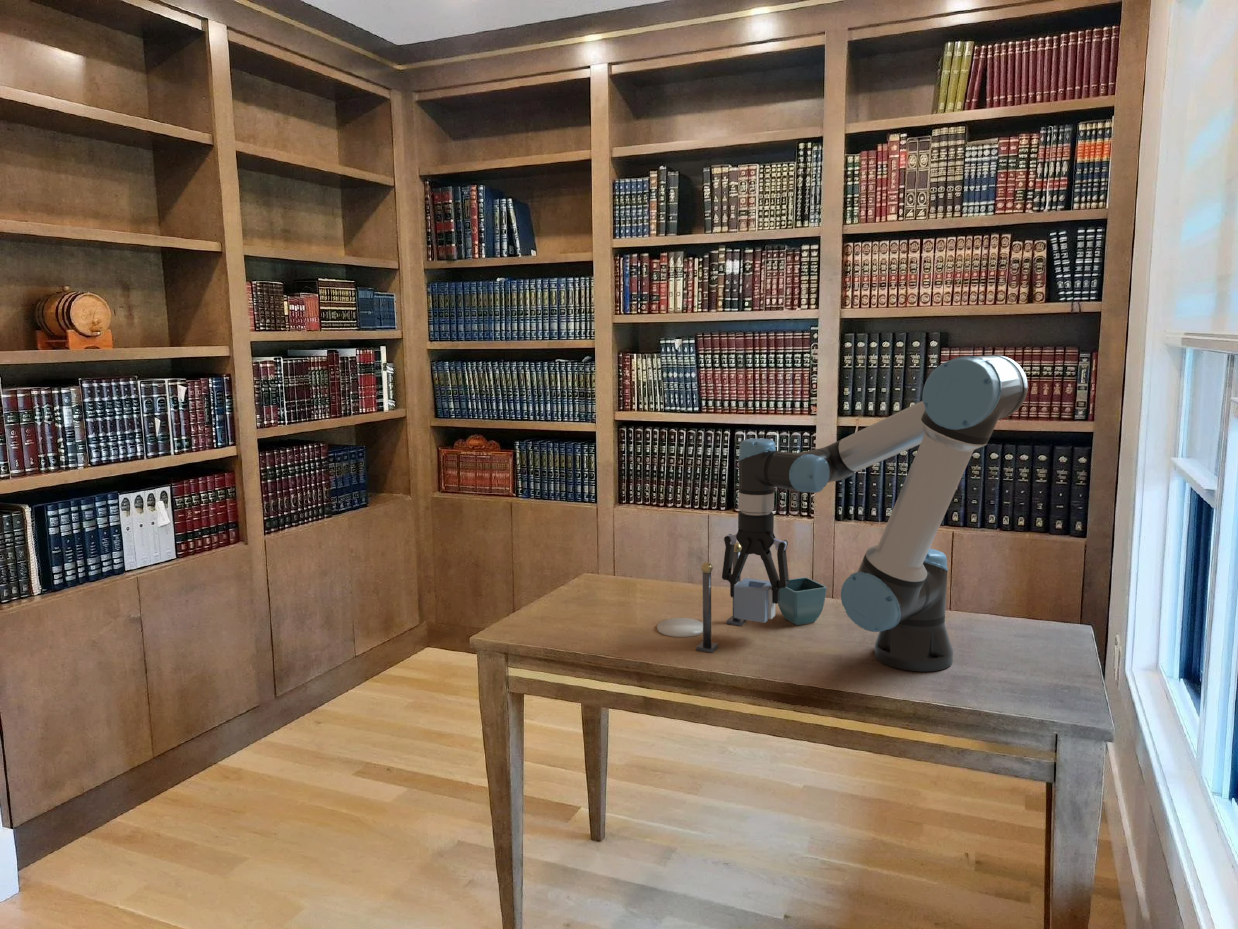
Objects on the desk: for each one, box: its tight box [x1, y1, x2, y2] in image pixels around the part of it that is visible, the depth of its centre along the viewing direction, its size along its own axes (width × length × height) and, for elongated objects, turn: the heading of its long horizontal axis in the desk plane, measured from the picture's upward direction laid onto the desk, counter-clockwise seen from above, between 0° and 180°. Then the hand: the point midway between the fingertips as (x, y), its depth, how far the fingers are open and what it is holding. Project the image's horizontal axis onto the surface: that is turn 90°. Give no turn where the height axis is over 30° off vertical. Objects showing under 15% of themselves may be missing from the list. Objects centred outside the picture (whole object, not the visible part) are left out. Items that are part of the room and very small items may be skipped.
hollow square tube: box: [734, 577, 772, 624], centre depth 184 cm, size 7×7×7 cm
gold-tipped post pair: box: [695, 542, 748, 654], centre depth 188 cm, size 4×22×19 cm, turn 152°
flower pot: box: [777, 576, 828, 626], centre depth 196 cm, size 9×9×9 cm
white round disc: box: [656, 617, 703, 638], centre depth 194 cm, size 11×11×1 cm
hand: (754, 614), depth 185 cm, fingers closed on hollow square tube, 7 cm apart
